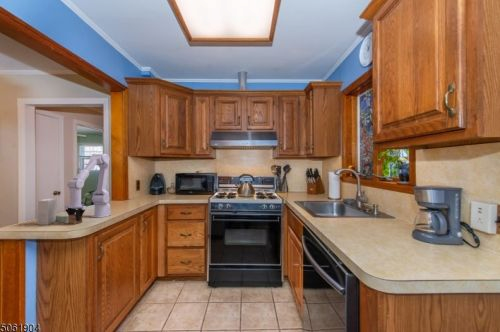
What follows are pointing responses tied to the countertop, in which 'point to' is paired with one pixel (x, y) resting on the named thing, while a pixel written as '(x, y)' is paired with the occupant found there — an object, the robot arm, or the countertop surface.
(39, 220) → the skincare box
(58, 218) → the sage block
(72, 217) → the walnut cube
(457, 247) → the countertop surface
